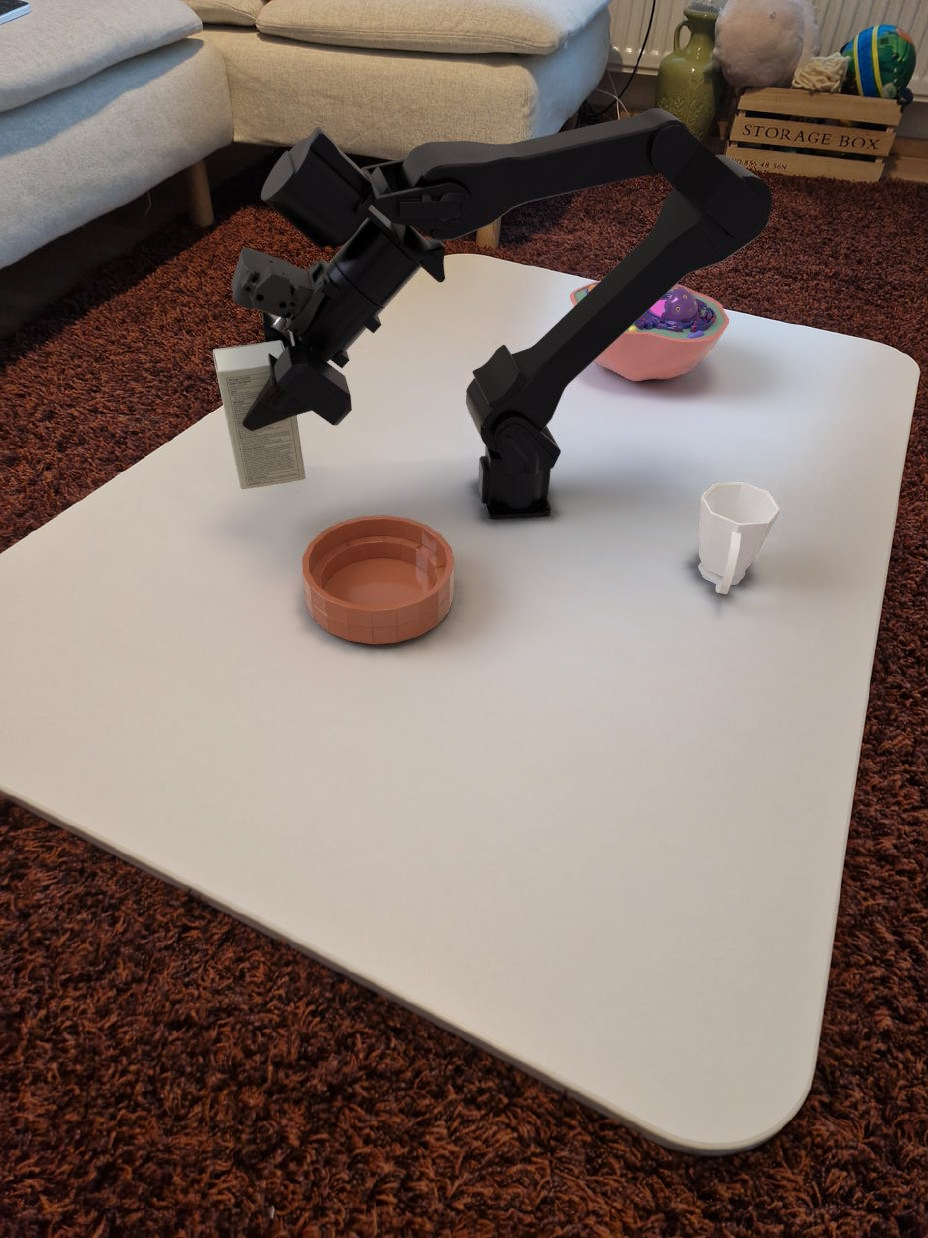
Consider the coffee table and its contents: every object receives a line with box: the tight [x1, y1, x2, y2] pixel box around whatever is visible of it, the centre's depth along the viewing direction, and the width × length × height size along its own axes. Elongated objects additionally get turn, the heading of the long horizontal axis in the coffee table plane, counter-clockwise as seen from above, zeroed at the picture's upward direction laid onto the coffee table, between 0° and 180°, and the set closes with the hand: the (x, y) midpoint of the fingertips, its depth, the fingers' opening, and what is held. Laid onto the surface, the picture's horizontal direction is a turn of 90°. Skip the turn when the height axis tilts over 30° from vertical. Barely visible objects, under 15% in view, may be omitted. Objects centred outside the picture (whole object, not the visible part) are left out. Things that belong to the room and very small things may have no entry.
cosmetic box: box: [212, 340, 306, 490], centre depth 83 cm, size 6×4×12 cm
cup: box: [697, 481, 782, 595], centre depth 84 cm, size 7×10×8 cm
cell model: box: [569, 279, 730, 382], centre depth 114 cm, size 17×20×11 cm
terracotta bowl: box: [301, 514, 455, 645], centre depth 82 cm, size 13×13×4 cm
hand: (245, 414), depth 82 cm, fingers closed on cosmetic box, 4 cm apart
